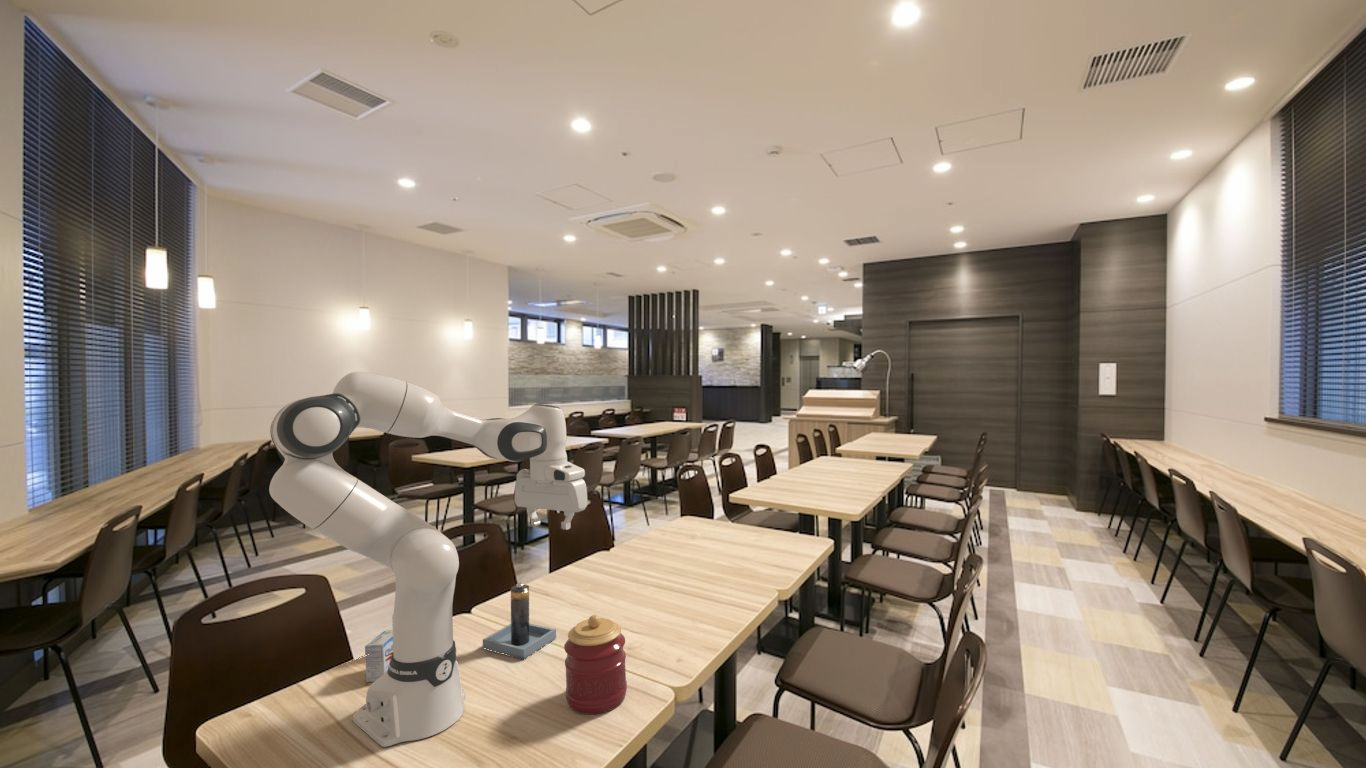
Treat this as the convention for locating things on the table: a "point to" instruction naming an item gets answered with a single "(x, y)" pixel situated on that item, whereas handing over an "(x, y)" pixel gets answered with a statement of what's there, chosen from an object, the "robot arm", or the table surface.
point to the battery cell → (519, 614)
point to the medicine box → (378, 655)
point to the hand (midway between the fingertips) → (550, 527)
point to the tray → (502, 644)
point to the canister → (595, 666)
